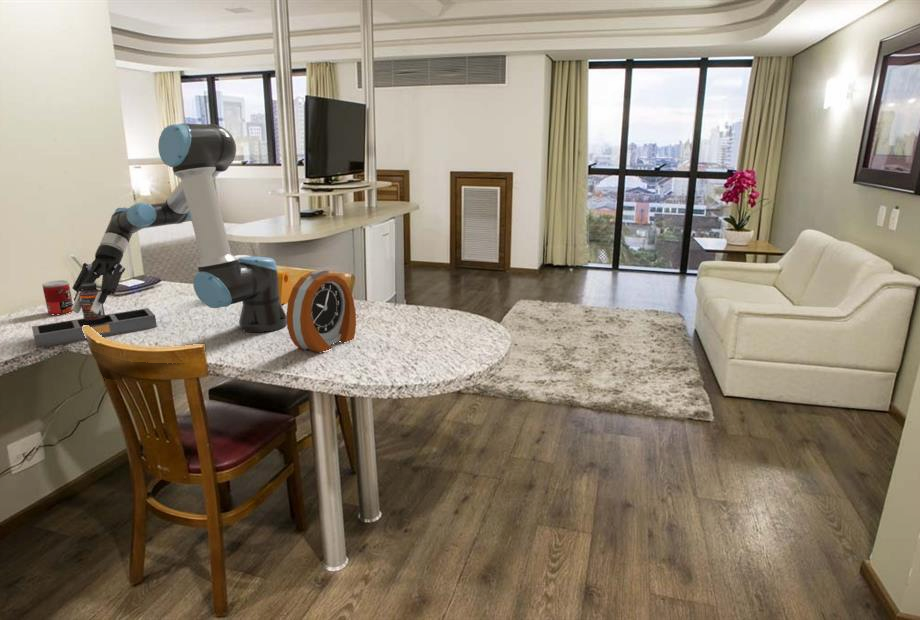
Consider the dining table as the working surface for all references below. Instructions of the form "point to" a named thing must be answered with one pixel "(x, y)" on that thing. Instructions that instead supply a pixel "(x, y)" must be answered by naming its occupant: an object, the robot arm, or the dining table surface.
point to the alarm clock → (320, 311)
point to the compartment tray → (104, 327)
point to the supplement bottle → (90, 302)
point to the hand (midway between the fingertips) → (84, 311)
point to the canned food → (58, 297)
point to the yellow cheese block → (284, 286)
